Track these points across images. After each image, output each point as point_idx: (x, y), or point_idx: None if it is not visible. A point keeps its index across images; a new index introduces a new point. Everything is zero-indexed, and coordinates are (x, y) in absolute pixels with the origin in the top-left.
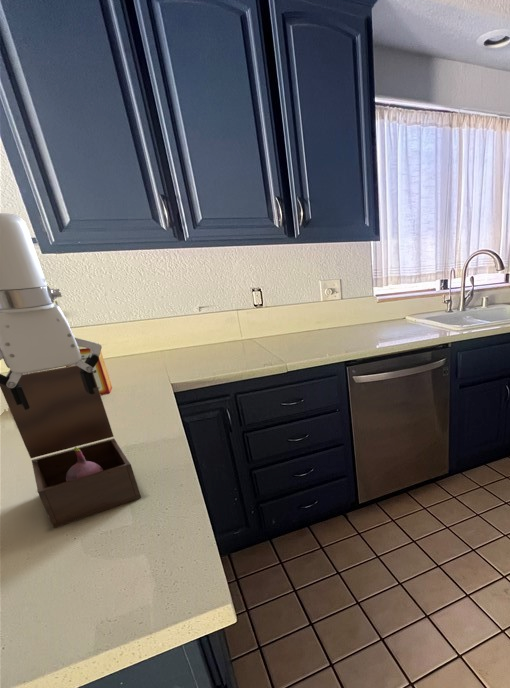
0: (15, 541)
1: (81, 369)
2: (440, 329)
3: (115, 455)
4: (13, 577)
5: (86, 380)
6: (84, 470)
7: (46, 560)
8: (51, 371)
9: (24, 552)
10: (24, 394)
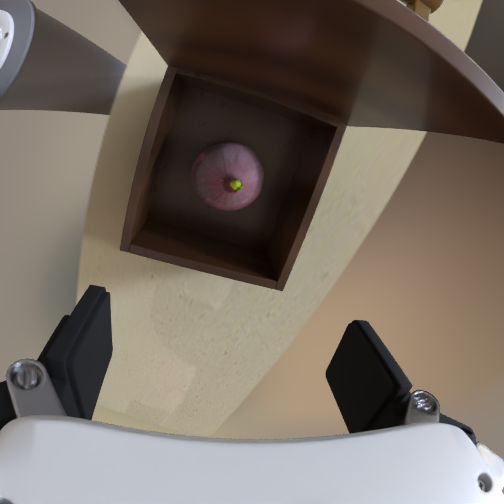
0: (94, 208)
1: (384, 427)
2: None
3: (321, 126)
4: (81, 290)
5: (346, 418)
6: (223, 202)
7: (113, 291)
8: (398, 31)
9: (97, 249)
10: (97, 398)
